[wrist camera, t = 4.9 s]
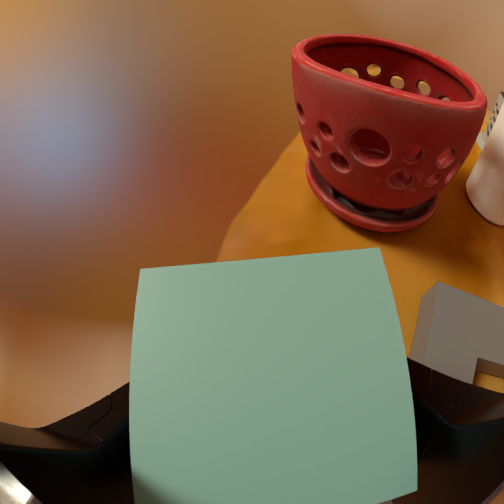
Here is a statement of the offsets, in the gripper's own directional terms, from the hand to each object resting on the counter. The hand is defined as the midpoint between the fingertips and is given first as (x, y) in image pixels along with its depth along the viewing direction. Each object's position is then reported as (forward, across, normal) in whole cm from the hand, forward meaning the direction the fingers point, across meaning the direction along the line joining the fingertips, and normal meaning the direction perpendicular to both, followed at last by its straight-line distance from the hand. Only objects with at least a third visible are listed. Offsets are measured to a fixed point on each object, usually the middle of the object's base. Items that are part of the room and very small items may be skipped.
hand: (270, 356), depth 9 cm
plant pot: (+16, -9, -5) cm, 19 cm away
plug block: (+4, 0, +6) cm, 8 cm away
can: (+14, -23, -3) cm, 27 cm away
